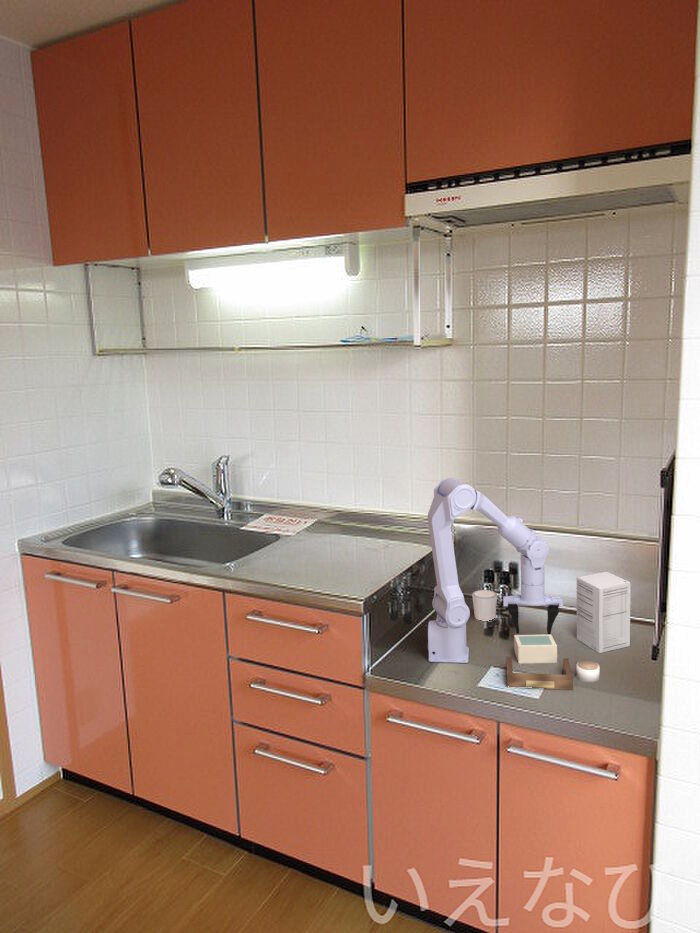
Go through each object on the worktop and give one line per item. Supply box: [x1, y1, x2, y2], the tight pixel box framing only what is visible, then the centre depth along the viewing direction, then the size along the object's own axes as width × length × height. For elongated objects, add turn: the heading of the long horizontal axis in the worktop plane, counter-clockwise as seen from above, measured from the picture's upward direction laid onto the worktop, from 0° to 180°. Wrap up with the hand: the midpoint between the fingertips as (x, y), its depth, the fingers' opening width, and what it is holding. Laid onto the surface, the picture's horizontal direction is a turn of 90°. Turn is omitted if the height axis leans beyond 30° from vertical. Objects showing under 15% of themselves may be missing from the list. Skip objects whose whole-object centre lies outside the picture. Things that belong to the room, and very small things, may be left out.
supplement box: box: [576, 571, 632, 654], centre depth 172 cm, size 10×9×17 cm
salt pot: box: [575, 659, 601, 683], centre depth 157 cm, size 5×5×3 cm
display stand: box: [505, 655, 574, 691], centre depth 157 cm, size 14×9×3 cm
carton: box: [513, 633, 558, 664], centre depth 168 cm, size 9×6×4 cm
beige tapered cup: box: [471, 589, 498, 622], centre depth 192 cm, size 7×7×7 cm
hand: (533, 632), depth 176 cm, fingers open, 7 cm apart
